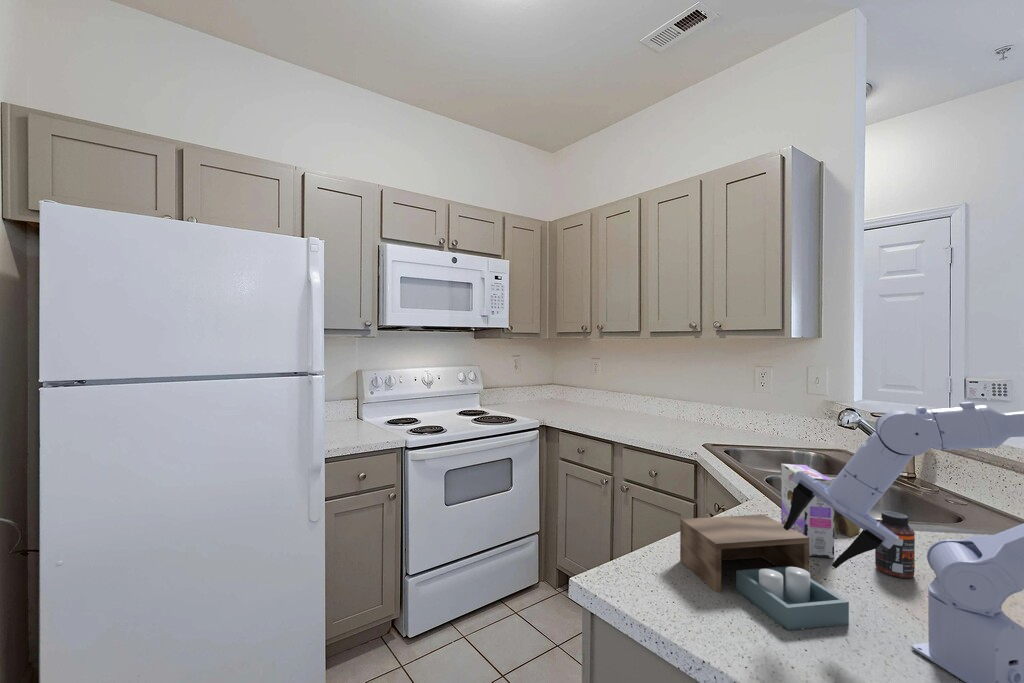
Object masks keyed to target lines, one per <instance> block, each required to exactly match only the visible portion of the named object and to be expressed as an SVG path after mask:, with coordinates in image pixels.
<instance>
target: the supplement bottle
mask: <svg viewBox="0 0 1024 683" xmlns="http://www.w3.org/2000/svg"><path fill="white" fill-rule="evenodd" d="M878 522H879V523H880V524H882V525H883V526H884V527H886V528H887V529H888V530H890V531H891V532H893V533H894V534H895V535H897V536H898V537H899V538H898V540H897V541H896V542H895V543H894V545H893V546H892V547H891V548H890V549H888V548H887V547H885V546H884V545H883V544H882V543H881V544H880V545H879V547H878V548H876V549H874V551H875V553H874V557H875V558H874V559H875V561H874V562H875V567H876V569H877V570H879V572H882V573H884V574H886V575H888V576H892V577H895V578H899V579H911V578H913V577H914V576H915V571H916V570H915V569H916V567H915V550H916V549H915V548H916V545H915V544H916V539H915V537H916V536H915V530H914V529H913V527H912V528H911V527H910V525H909V517H908V515H906V514H904V513H900V512H896V511H890V510H883V511H881V520H879V521H878Z"/></svg>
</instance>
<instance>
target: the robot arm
mask: <svg viewBox="0 0 1024 683" xmlns="http://www.w3.org/2000/svg"><path fill="white" fill-rule="evenodd" d="M914 409H915V414H914V413H912V412H908V411H906V410H892V411H889V412H886V413H885V414H883V415H881V417H877V419H876V421H875V422H874V432H872V434H871V435H869V436H868V437H867V439H866V441H865V442H864V443H862V444H861V445H860V446H859V448H858V449H857V450H856V451H855V453H854V454H853V455H852V457H851V458H850V459H849V460H848V462H846V464H845V465H844V467H843V468H842V469H841V470H840V472H839V473H838V474H837V476H836V477H835V478H834V479H833V480H834V481H833V482H832V483H831V484H830V486H829V487H827V486H825V485H824V484H822V483H820V482H819V481H817V480H815V479H814V478H812V477H810V476H809V475H807V474H805V473H804V472H802V471H801V470H800V471H798V472H797V473H796V474H795V476H794V477H793V478H792V480H791V481H793V482H794V483H796V484H798V485H797V486H796V487H795V488H794V490H793V496H792V504H791V509H790V513H789V516H788V519H787V521H786V523H785V525H784V527H783V528H784V529H785V530H789V529H790V528H791V527H792V526H793V524H794V523H795V522H796V520H797V518H798V517H799V515H800V514H801V512H802V511H803V510H804V509H805V507H806V506H807V505H808V504H809V503H810V501H811V500H812V499H813V498H814V497H815V496H816V497H817V498H819V499H820V500H822V501H823V502H824V503H826V504H827V505H829V506H830V507H832V508H833V509H834V510H836V511H837V512H839V513H840V514H842V515H843V516H844V517H846V518H847V519H849V520H850V521H852V522H853V523H854V524H856V525H857V526H859V527H860V529H862V531H860V532H859V534H857V537H856V538H855V539H854V540H853V541H852V542H851V543H850V545H849V546H848V547H847V548H846V549H845V550H844V551H843V552H842V553H841V554H840V555H839V556H838V557H837V558H836V559H835V560H834V561H833V562H832V563H831V566H832V567H833V568H834V569H837V568H839V567H840V566H842V564H844V563H845V562H847V561H849V560H850V559H852V558H855V557H856V556H858V555H861V554H864V553H867V552H869V551H870V552H871V551H873V550H875V549H876V548H878V547H879V545H880V544H881V543H882V544H883V545H884V546H885V547H887V548H888V549H890V548H891V547H892V546H893V545H894V543H895V542H896V541H897V540H898V538H899V537H898V536H897V535H895V534H894V533H893V532H891V531H890V530H888V529H887V528H886V527H884V526H883V525H882V524H880V523H879V521H877V520H876V518H874V517H873V516H871V515H870V514H869V513H870V511H872V509H873V508H874V506H876V504H877V503H878V501H879V500H880V499H881V498H882V497H883V496H884V494H885V493H886V491H887V490H888V489H889V488H890V487H891V486H892V485H893V483H894V482H895V481H896V480H897V479H898V478H899V477H900V475H901V474H902V473H903V471H904V470H905V467H906V466H907V465H908V464H909V462H910V461H911V460H912V459H913V457H916V456H921V455H923V454H926V453H927V452H928V451H929V450H930V449H931V448H932V449H934V450H935V451H949V450H971V449H993V448H997V449H998V448H999V447H1000V446H1001V445H1003V444H1004V443H1005V442H1006V441H1007V440H1008V439H1010V438H1020V437H1021V438H1022V437H1023V438H1024V410H1021V411H1020V410H1019V411H1012V412H1011V411H1010V412H999V411H997V410H996V409H993V407H990V406H988V405H985V404H980V405H979V404H978V405H975V402H972V401H963V402H959V406H955V407H954V406H953V407H945V408H935V409H934V408H930V409H926V407H925V406H919V407H915V408H914ZM926 553H927V554H926V560H927V563H928V565H929V567H930V568H931V570H932V571H933V572H934V574H935V577H934V579H933V580H932V582H931V583H929V584H928V586H927V592H928V595H927V596H928V597H927V598H928V599H927V600H928V602H927V606H928V610H927V611H928V612H927V613H928V615H927V616H928V623H927V624H928V642H923V643H915V644H911V649H912V650H913V651H914V652H917V653H918V654H919V655H921V656H923V657H925V659H928V660H930V661H931V662H932V663H934V664H936V665H937V666H938V667H940V668H942V669H943V670H946V671H947V672H948V673H950V674H951V675H953V676H955V677H956V678H957V679H960V680H961V681H963V682H965V683H1024V626H1022V625H1021V624H1019V623H1017V622H1016V621H1014V620H1012V619H1011V618H1010V617H1009V616H1008V615H1006V613H1005V612H1004V611H1003V607H1002V606H1003V605H1004V603H1005V602H1006V600H1007V599H1008V598H1009V597H1010V596H1012V595H1015V594H1018V593H1021V592H1023V591H1024V523H1021V524H1019V525H1016V526H1013V527H1010V528H1009V529H1005V530H1004V531H1001V532H998V533H996V534H976V535H971V536H968V537H966V538H962V539H942V540H938V541H935V542H934V543H932V544H931V545H930V546H929V548H928V549H927V552H926Z"/></svg>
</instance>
